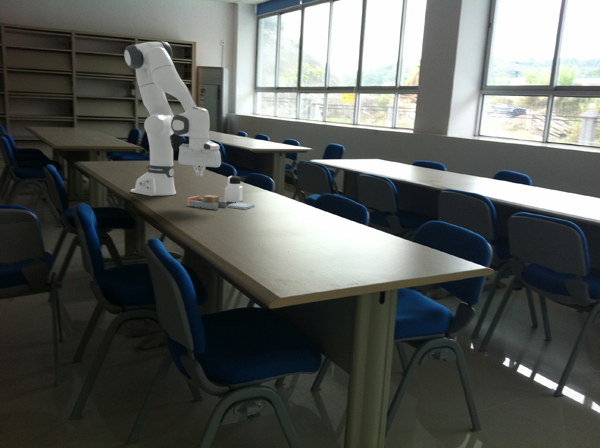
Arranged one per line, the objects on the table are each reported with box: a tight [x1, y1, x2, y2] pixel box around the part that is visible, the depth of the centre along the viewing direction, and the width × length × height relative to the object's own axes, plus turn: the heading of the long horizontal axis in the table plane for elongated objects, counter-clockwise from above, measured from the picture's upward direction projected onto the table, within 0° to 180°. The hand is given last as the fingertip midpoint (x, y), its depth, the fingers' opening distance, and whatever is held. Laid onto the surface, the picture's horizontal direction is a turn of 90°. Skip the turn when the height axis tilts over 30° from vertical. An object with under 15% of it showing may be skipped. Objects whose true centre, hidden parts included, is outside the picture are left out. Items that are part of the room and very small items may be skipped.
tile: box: [227, 202, 255, 210], centre depth 237 cm, size 9×9×1 cm
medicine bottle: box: [224, 175, 244, 203], centre depth 249 cm, size 7×7×12 cm
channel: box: [187, 195, 228, 211], centre depth 233 cm, size 15×8×4 cm, turn 68°
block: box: [202, 194, 220, 208], centre depth 232 cm, size 5×5×5 cm
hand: (199, 175), depth 232 cm, fingers closed
